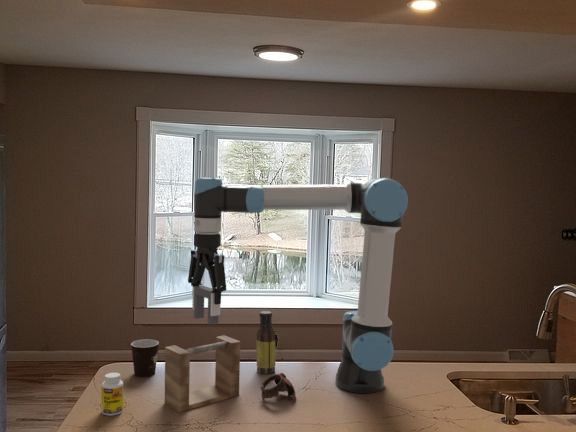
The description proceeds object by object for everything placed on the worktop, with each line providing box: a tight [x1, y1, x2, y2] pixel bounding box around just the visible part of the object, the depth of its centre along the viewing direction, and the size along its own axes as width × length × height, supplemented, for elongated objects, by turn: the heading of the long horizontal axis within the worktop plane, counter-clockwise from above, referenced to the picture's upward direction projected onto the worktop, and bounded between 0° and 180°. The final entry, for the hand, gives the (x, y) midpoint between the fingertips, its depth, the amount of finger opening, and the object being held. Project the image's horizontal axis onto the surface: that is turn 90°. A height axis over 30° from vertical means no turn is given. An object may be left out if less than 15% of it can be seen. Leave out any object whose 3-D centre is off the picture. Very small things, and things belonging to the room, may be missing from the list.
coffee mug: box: [130, 338, 160, 378], centre depth 179 cm, size 12×9×10 cm
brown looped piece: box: [260, 372, 297, 403], centre depth 164 cm, size 12×10×8 cm
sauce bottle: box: [256, 310, 276, 375], centre depth 185 cm, size 6×6×20 cm
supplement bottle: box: [100, 372, 124, 416], centre depth 151 cm, size 6×6×10 cm
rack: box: [164, 334, 241, 413], centre depth 161 cm, size 20×8×16 cm, turn 131°
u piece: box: [193, 284, 219, 325], centre depth 160 cm, size 9×3×9 cm, turn 41°
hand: (206, 311), depth 160 cm, fingers closed on u piece, 9 cm apart
